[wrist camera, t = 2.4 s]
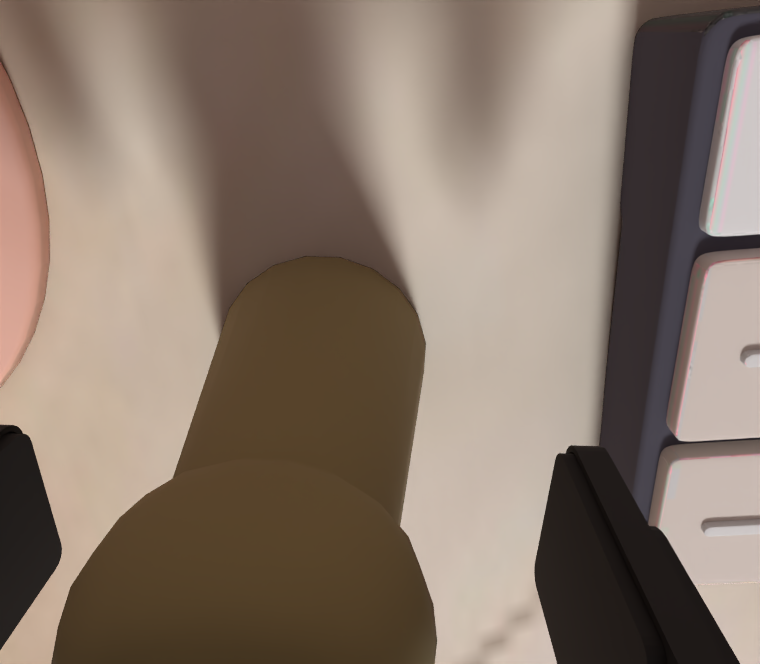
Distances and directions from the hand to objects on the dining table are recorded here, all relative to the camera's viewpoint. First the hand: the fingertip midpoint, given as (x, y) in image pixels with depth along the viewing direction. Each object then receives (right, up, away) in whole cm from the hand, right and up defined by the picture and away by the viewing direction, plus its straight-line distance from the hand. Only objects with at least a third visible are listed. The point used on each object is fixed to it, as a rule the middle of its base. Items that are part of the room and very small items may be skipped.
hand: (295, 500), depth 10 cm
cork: (0, +2, +7) cm, 7 cm away
